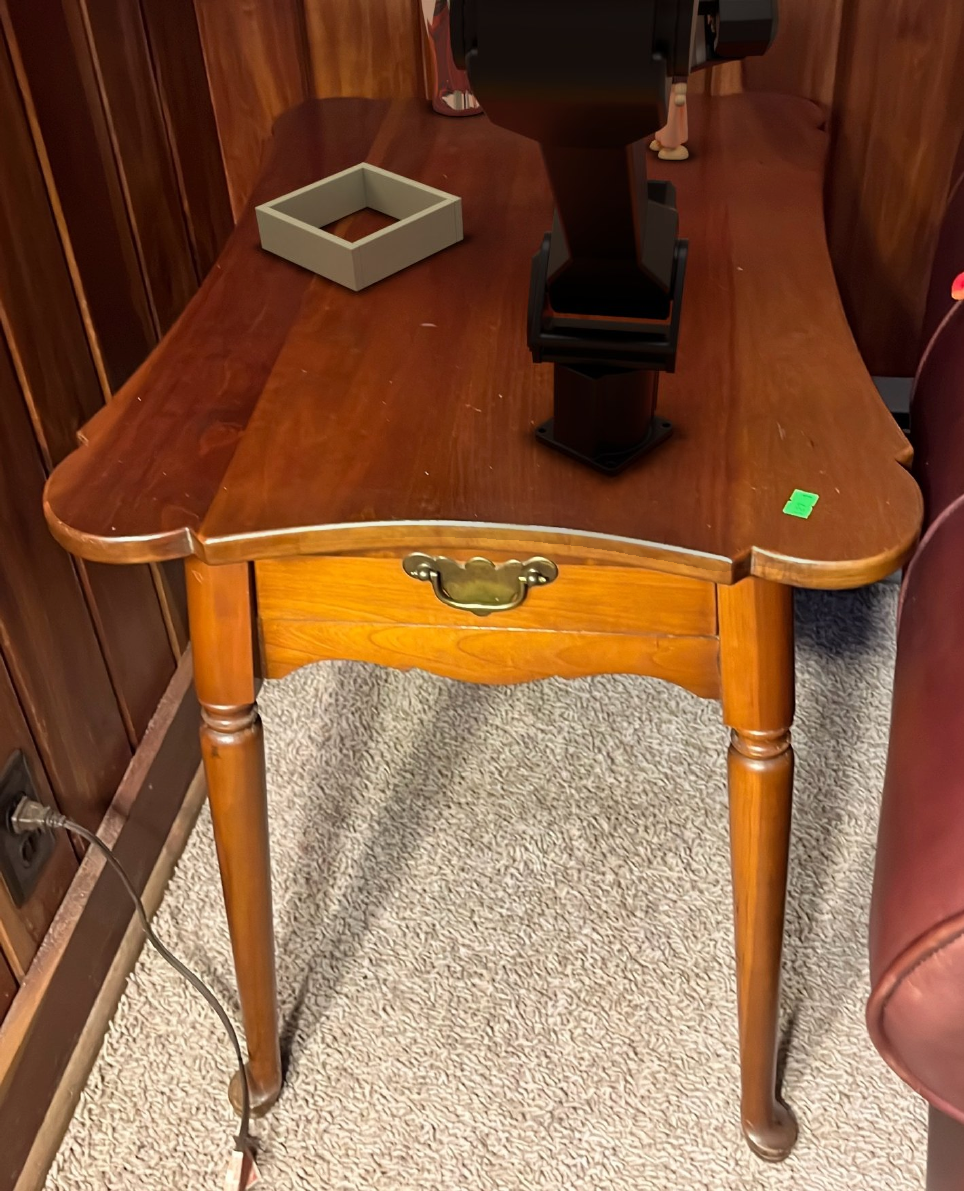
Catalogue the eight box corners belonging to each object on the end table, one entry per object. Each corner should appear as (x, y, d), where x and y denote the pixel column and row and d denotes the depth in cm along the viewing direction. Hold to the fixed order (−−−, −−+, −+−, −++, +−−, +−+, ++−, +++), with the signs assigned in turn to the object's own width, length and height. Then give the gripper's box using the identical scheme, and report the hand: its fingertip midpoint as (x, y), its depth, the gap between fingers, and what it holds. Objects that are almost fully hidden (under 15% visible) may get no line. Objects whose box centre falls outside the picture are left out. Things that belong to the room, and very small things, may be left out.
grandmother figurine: (706, 159, 103) (720, 9, 94) (669, 167, 102) (680, 15, 93) (665, 131, 108) (676, -14, 99) (630, 138, 107) (637, -8, 98)
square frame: (356, 292, 86) (351, 249, 84) (261, 248, 93) (254, 207, 90) (463, 239, 92) (461, 197, 90) (368, 201, 99) (363, 161, 96)
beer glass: (420, 99, 117) (408, -64, 107) (484, 89, 118) (478, -72, 108) (438, 122, 112) (428, -47, 102) (504, 111, 113) (500, -56, 103)
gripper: (796, -206, 65) (738, -43, 81) (477, -190, 66) (480, -31, 81) (806, -19, 65) (746, 108, 81) (485, -4, 65) (487, 120, 81)
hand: (614, 72), depth 81 cm, fingers open, 9 cm apart
